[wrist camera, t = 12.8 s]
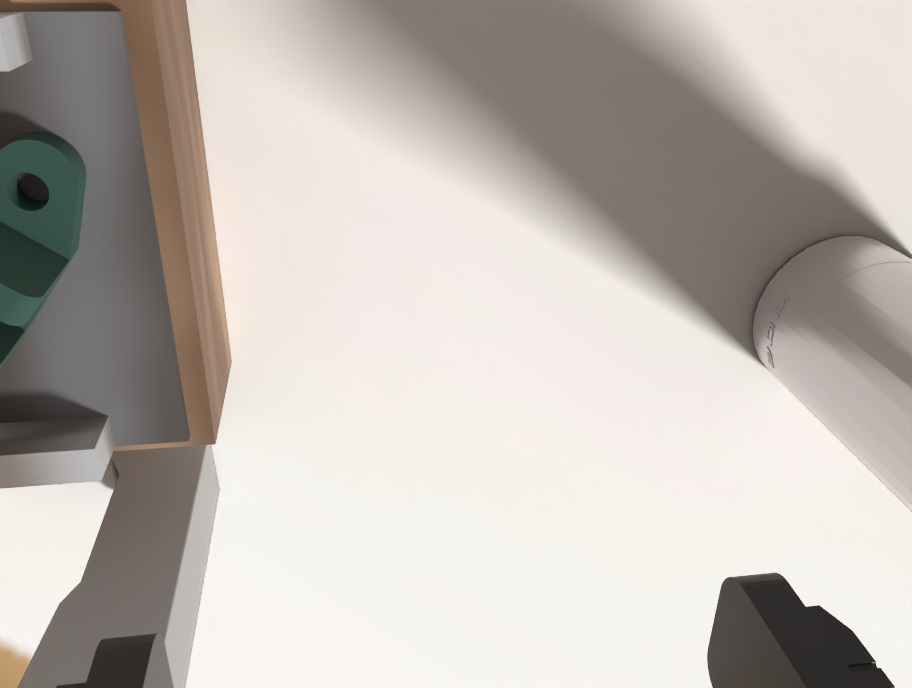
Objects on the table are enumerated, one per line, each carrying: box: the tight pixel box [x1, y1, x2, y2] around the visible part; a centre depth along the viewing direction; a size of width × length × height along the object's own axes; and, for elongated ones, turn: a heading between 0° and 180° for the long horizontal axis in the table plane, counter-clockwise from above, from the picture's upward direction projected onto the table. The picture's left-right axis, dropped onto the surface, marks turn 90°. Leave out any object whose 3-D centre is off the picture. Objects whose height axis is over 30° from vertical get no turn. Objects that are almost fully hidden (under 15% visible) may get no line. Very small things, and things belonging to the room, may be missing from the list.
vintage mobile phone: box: [18, 445, 220, 688], centre depth 33 cm, size 4×5×25 cm
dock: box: [0, 0, 232, 488], centre depth 33 cm, size 14×18×10 cm
